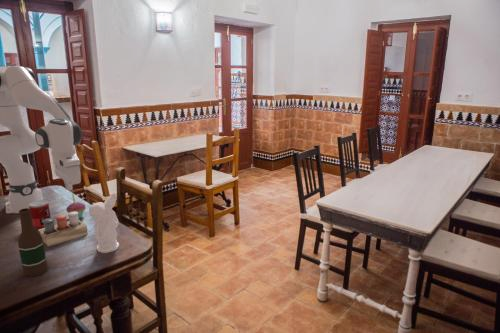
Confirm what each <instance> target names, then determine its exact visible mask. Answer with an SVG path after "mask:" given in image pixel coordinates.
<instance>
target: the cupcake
mask: <svg viewBox="0 0 500 333" xmlns="http://www.w3.org/2000/svg"><path fill="white" fill-rule="evenodd" d="M71 194H72V195H71V196H72V201H73V202H72V203H70V204H68V205H67V207H66V213H67V214H68V213H70V212H78V219H81V218H82V217H83V215H84V211H85V210H86V209H87V208H86V204H85V203H83V202H76V201H75V196H74V195H75V194H74V193H73V192H71Z"/></svg>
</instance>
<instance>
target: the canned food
mask: <svg viewBox="0 0 500 333" xmlns="http://www.w3.org/2000/svg"><path fill="white" fill-rule="evenodd" d="M29 209H30V210H31V213H30V214H31V217H32V221H33V225H34V227H35V229H42V228H44V224H43V222H42V221H43V220H45V219H48V218H52V216H51V215H52V214H51V210H50V204H49V201H48V200H45V199H43V200H39V201H34V202H32V203H30V204H29Z"/></svg>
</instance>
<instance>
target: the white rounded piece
mask: <svg viewBox="0 0 500 333" xmlns="http://www.w3.org/2000/svg"><path fill="white" fill-rule="evenodd" d="M67 216H68V219H69V220H68V221H70V226H71V227H74V226H77V225H79V220H80V218H78V212H70V213H68V212H67Z"/></svg>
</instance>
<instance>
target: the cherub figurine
mask: <svg viewBox="0 0 500 333" xmlns="http://www.w3.org/2000/svg"><path fill="white" fill-rule="evenodd" d="M117 198H118V197H117V195H116V193H113V194H112V196H111V197H108V198H107V199H105V201H104V202H101V201H100V202H92V204H91V205H90V206H89V208H88V214H89V216H90V217H91V218H92V219H93V221H94V228H93V230H94V239H96V240H97V242H98V243H97V246H96V251H97V252H98V253H101V254H108V253H112V252H115V251H116V250H118V249H119V247H120V243H119V242H118V240H117V238H118V232H117V230H116V229H117V228H118V227H119V224H120V221H119V219H118V217H117V213H116V212H115V211H114V210H113V208H114V207H115V205H116V202H117V200H118V199H117Z"/></svg>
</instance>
